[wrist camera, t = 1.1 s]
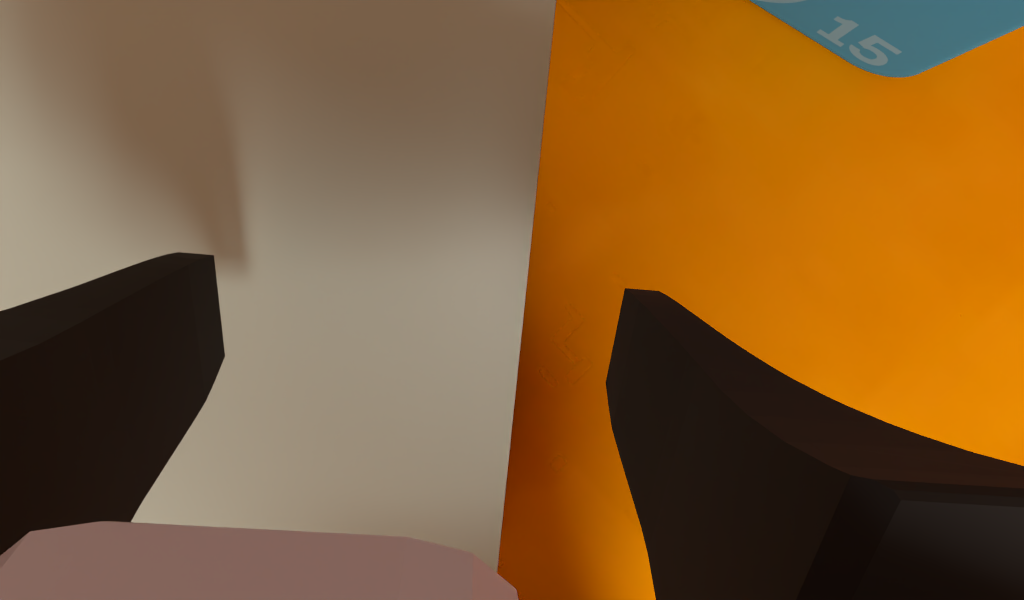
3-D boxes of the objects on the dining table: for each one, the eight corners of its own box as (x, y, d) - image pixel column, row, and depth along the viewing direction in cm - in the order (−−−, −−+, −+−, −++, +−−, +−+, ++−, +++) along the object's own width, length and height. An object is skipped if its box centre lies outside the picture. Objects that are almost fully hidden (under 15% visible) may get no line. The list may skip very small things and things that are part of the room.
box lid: (493, 603, 19) (491, 622, 18) (-138, 534, 19) (-158, 552, 18) (568, -124, 10) (569, -126, 10) (-568, -226, 11) (-629, -235, 10)
